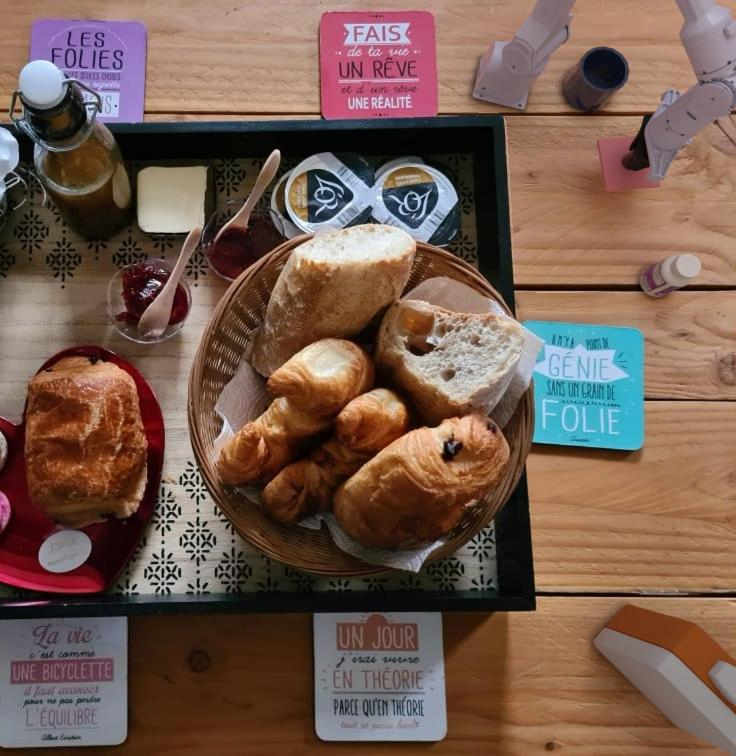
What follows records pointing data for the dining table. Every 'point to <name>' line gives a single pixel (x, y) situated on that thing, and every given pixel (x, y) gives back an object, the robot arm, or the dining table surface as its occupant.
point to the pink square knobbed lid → (621, 165)
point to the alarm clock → (676, 671)
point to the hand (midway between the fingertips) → (633, 159)
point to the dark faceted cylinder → (595, 78)
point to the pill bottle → (670, 274)
